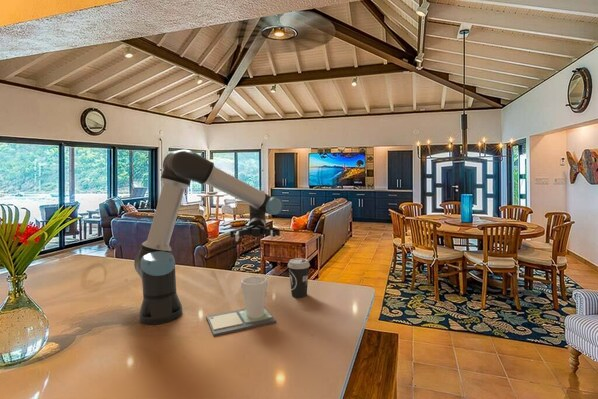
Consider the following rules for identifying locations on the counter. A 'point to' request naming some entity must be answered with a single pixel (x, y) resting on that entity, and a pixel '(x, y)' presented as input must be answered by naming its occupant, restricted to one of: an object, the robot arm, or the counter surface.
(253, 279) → the foam cup
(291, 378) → the counter surface
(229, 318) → the tile board
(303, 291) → the coffee cup
